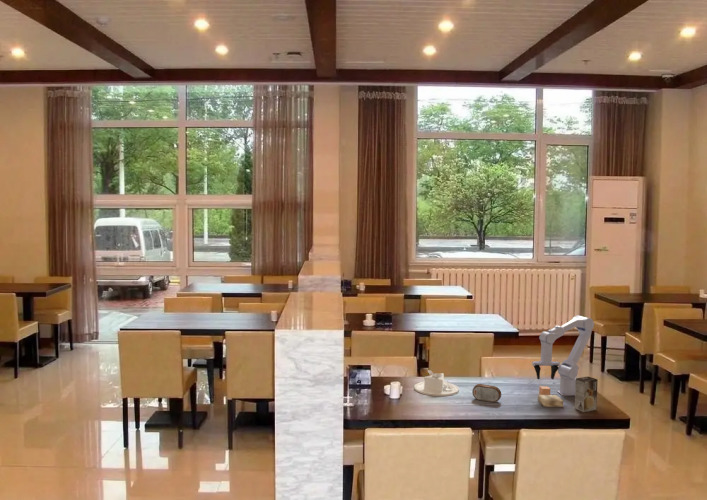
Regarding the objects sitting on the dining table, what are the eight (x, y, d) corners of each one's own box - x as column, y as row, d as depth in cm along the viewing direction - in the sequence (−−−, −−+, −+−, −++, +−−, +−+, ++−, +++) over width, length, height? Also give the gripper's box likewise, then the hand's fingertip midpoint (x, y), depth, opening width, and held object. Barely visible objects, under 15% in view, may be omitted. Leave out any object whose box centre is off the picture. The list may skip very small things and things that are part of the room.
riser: (556, 400, 344) (556, 395, 344) (563, 406, 334) (563, 401, 334) (537, 400, 344) (538, 394, 343) (544, 406, 334) (544, 400, 333)
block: (547, 395, 353) (547, 386, 353) (550, 397, 349) (550, 388, 348) (539, 395, 353) (539, 386, 353) (541, 397, 349) (542, 388, 348)
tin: (501, 402, 340) (501, 386, 339) (499, 404, 337) (500, 388, 336) (473, 398, 346) (473, 382, 345) (471, 399, 343) (472, 384, 342)
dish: (448, 399, 343) (449, 378, 342) (406, 391, 356) (407, 371, 355) (466, 388, 364) (466, 368, 363) (425, 380, 377) (426, 361, 376)
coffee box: (586, 406, 336) (588, 376, 334) (596, 410, 330) (598, 379, 328) (574, 408, 331) (575, 378, 330) (583, 412, 326) (585, 381, 324)
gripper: (557, 352, 353) (555, 376, 354) (530, 352, 353) (529, 376, 354) (561, 355, 346) (560, 380, 347) (535, 355, 345) (533, 380, 347)
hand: (545, 378), depth 350 cm, fingers open, 7 cm apart
